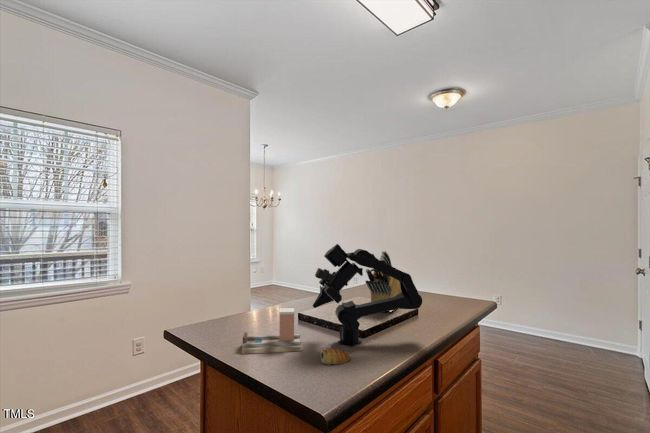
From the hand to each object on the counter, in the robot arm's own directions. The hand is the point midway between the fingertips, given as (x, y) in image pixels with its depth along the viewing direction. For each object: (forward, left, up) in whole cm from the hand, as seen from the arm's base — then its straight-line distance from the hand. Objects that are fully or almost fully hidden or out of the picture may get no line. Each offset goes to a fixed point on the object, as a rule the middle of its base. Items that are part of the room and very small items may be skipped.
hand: (313, 306), depth 116 cm
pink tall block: (+6, +8, -12) cm, 15 cm away
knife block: (+12, -61, -14) cm, 64 cm away
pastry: (-14, +4, -14) cm, 20 cm away
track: (+8, +12, -14) cm, 20 cm away
